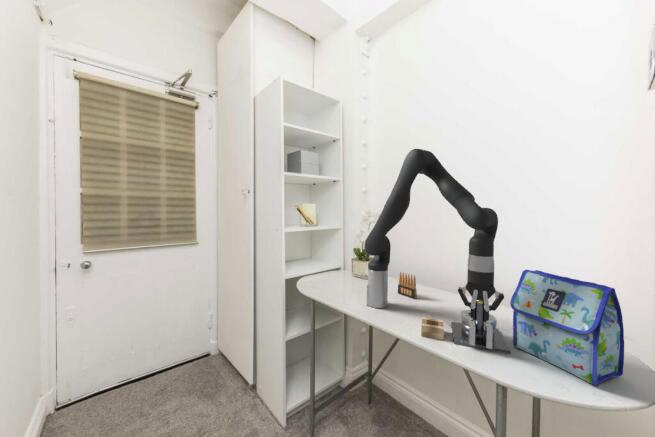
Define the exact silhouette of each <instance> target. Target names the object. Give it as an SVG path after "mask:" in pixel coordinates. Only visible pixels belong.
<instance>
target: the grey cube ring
mask: <svg viewBox="0 0 655 437" xmlns="http://www.w3.org/2000/svg"><path fill="white" fill-rule="evenodd" d="M470 312H471V309H464V310H461V311H460V317H459V318H460V323H463V324H465V325H467V326H469V336H468V339H469V345H474V346H475V320H473V318H471V316H470ZM496 328H497V318H496V316H494V315H492V314H491V313H489V320H488V321H486V322H484V330H485V345H486V348H489V349H492V338H493V329H496Z"/></svg>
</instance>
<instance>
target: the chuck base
mask: <svg viewBox="0 0 655 437" xmlns="http://www.w3.org/2000/svg"><path fill="white" fill-rule="evenodd" d="M450 326H451V331H452V337H453V338H452V339H453V344H454V345H459V346H465V347H470V348H476V349H481V350H487V351H493V352H497V353H504V354H511V349H510V347H509V346H508V344H507V342H506V340H505V338H504V336H503V335H502V333H501V331H500V330H499V328H497V327H496V329H493V338H492V349H489V348H486V345H485V330H484V335H483V336H479V335H476V334H475V346H474V345H469V339H468V336H469V326H467V325H465V324H463V323H462V322H458V321H457V322H456V321H450Z"/></svg>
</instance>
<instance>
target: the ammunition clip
mask: <svg viewBox="0 0 655 437" xmlns="http://www.w3.org/2000/svg"><path fill="white" fill-rule="evenodd" d="M398 274H399V276H398V277H399V278H398V285H397V294H398V293H399V294H398V295H401V296H404V297H407V298H409V299H412V300H416V299H417V297H418V296H417V293H418V292H417V281H416V280H417V279H416V276H415V274H414V275H413V274H410V273H408V274H407V272H406V273H405V272H401V271H400V272H399V273H398Z"/></svg>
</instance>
